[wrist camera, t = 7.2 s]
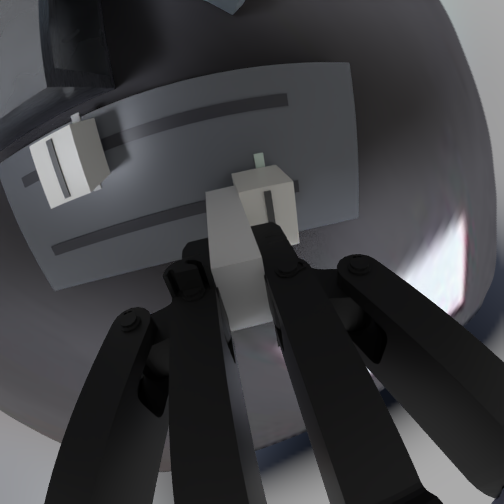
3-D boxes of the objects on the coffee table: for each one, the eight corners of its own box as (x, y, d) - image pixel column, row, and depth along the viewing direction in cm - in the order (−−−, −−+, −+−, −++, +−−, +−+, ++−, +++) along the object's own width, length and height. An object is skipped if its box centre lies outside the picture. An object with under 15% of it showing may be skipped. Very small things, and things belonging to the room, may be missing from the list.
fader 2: (242, 226, 16) (251, 256, 13) (231, 173, 14) (238, 193, 11) (282, 217, 16) (300, 244, 13) (275, 164, 14) (294, 181, 11)
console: (63, 275, 18) (53, 292, 16) (10, 154, 12) (-7, 162, 10) (345, 206, 19) (359, 218, 17) (333, 60, 13) (349, 57, 11)
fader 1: (74, 187, 12) (50, 209, 10) (57, 135, 11) (27, 146, 8) (110, 173, 13) (90, 193, 10) (94, 117, 11) (68, 124, 8)
